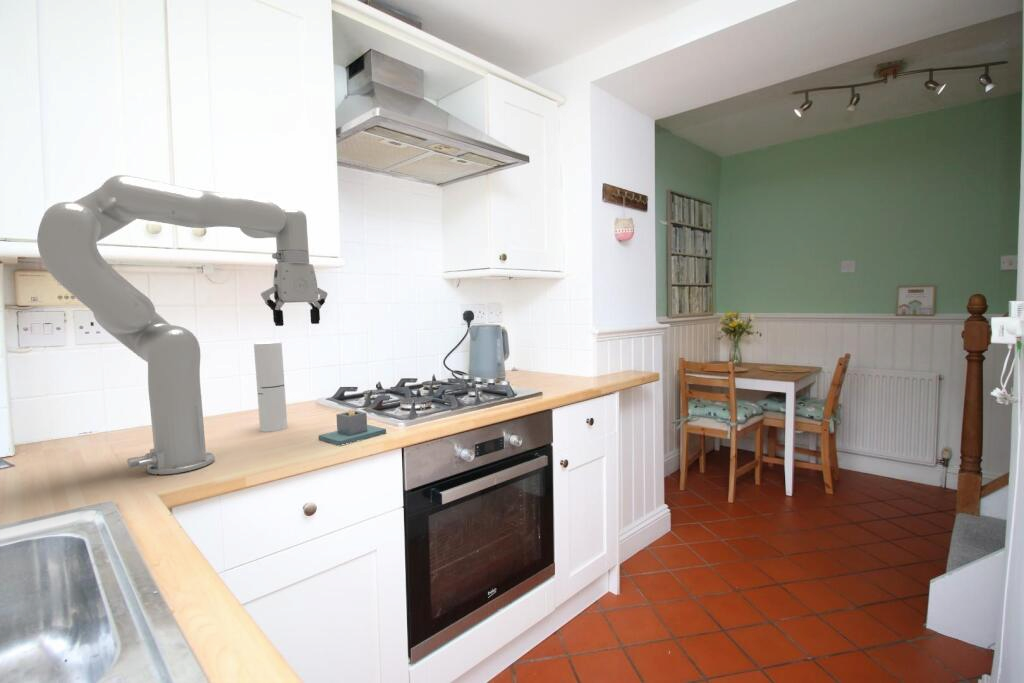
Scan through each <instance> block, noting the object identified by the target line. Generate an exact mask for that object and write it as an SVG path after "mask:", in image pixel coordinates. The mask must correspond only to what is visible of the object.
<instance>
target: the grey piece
mask: <svg viewBox="0 0 1024 683" xmlns="http://www.w3.org/2000/svg"><path fill="white" fill-rule="evenodd" d="M253 349H254V350H253V352H254V362H255V363H254V364H255V367H254V368H255V376H256V378H255V379H256V389H257V390H256V392H257V405H258V417H259V418H258V419H259V431H260V432H262V431H263V432H264V433H270V432H277V431H282V430H286V429H287V428H288V414H287V404H286V388H285V386H286V384H285V374H284V370H285V369H284V357H283V344H282V342H281V341H265V342H264V341H263V342H256V343H255V342H254V343H253Z"/></svg>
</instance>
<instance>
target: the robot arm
mask: <svg viewBox="0 0 1024 683" xmlns="http://www.w3.org/2000/svg"><path fill="white" fill-rule="evenodd" d="M136 220H143V221H148V222H157V223H162V224H167V225H168V224H169V225H174V226H178V227H185V228H192V229H193V228H195V229H207V228H215V227H216V228H217V227H219V228H220V227H221V228H222V227H225V228H236V229H237V228H238V229H240V231H241V232H242V233H243V234H244V235H246V236H247V237H249V238H253V239H270V238H274V239H275V242H276V252H275V253H272V255H271V257H272V259H273V260H276V262H277V263H275V266H274V271H273V286H272V287H270V288H268V289H266V290H264V291H262V292H261V293H260V296H261V298H262V299H263V301H264V303H265V305H267V306H268V308H270V310H271V311H272V316H273V323H274V325H275V327H283V326H284V325H285V324H284V323H285V322H284V312H283V310H282V309H281V308H282V307H283V306H284V305H285V303H288V304H289V303H307V304H308V305H309V306H310V307H311V308H310V312H309V314H310V316H309V317H310V323H311V325H319V324H320V320H321V317H320V316H321V315H320V314H321V313H320V309H321V308H322V306H323V305H324V304H325V303H326V299H327V296H328V292H327V291H326V290H323V289H322V288H321V287H318V281H317V276H316V272H315V268H314V265H313V264H310V254H309V238H308V224H307V221H308V220H307V216H306V213H305V212H304V211H302V210H299V209H292V208H291V209H288V208H286V209H283V208H281V207H280V206H279V205H277V204H275V203H274V202H271V201H269V200H264V199H260V198H255V197H252V196H251V197H250V196H246V195H241V194H235V193H227V192H219V191H218V192H217V191H211V190H201V189H199V190H198V189H193V188H189V187H188V188H187V187H185V186H184V187H182V186H179V185H174V184H170V183H164V182H160V181H156V180H151V179H148V178H147V179H146V178H141V177H137V176H131V175H127V174H126V175H124V174H123V175H121V174H120V175H119V174H118V175H113V176H112V177H110V178H108V179H107V180H106V181H105V182H104V183H103V184H102V185H101V186H100V187H98V188H97V189H95V190H94V191H91V192H90V193H88V194H87V195H85V196H83V197H81V198H79V199H77V200H75V201H61V202H57V203H55V204H52V205H51V206H50V207H48V208H47V210H46V211H45V212H44V213H43V216H42V218H41V221H40V223H39V226H38V231H37V236H36V240H37V241H36V242H37V248H38V252H39V256H40V259H41V261H42V263H43V265H44V267H45V269H46V270H47V272H49V273H50V275H51V276H52V277H53V278H54V279H55V281H56V282H57V283H58V284H59V285H61V286H62V287H63V288H64V289H66V290H67V291H68V292H69V294H71V295H72V296H73V297H75V298H76V299H77V300H78V301H79V302H81V303H82V304H83V305H84V306H85V307H86V308H88V309H89V310H90V311H91V312H93V313H92V314H93V317H94V320H95V321H96V322H97V324H98V325H99V326H100V327H101V328H103V329H104V330H105V332H107V333H108V334H110V335H111V336H112V337H114V338H115V339H116V340H117V341H119V343H120V344H122V345H123V346H125V347H126V348H128V350H130V351H132V353H134V354H135V355H137V356H138V357H139V358H140V359H141V360H143V361H145V362H146V363H147V389H148V400H149V409H150V421H151V429H152V430H151V431H152V440H153V448H150V449H149V452H148V453H145V454H144V455H141V456H135V457H132V458H131V457H130V458H128V459H127V466H128V468H134V467H139V468H141V467H146V472H147V471H148V472H147V473H148V474H150V473H151V474H152V475H157V474H159V476H160V475H172V474H179V473H185V472H190V471H194V470H198V469H200V468H201V469H202V468H204V467H206V466H208V465H210V464H212V463H213V462H214V461H215V454H213V453H212V452H209V451H207V449H206V436H205V426H204V414H203V413H204V412H203V402H202V391H201V390H202V389H201V377H200V376H201V372H200V371H201V367H200V366H201V345H200V342H199V340H198V338H197V337H196V335H195V334H194V333H193V332H191V331H190V330H189V329H187V328H185V327H182V326H180V325H174V324H173V325H171V323H170V322H168V321H166V320H165V319H164V318H163V317H162V316H161V315H160V314H159V313H157V312H156V308H155V305H154V303H153V302H152V300H151V299H150V298H149V297H148V296H147V295H146V294H144V293H143V292H141V291H140V290H139V288H137V287H135V285H133V284H131V282H129V281H128V280H127V279H125V277H124V276H122V274H120V273H118V272H117V270H116V269H114V267H112V266H111V265H110V263H108V262H107V261H106V260H105V259H104V257H103V256H102V255H101V253H100V252H99V248H98V246H97V243H98V242H100V241H101V240H103V239H105V238H107V237H108V236H110V235H113V234H114V233H115V232H117V231H119V230H122V228H124V227H126V226H128V225H129V224H132V222H134V221H136ZM271 295H273V298H274V300H273V299H271Z"/></svg>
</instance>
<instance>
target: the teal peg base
mask: <svg viewBox="0 0 1024 683" xmlns="http://www.w3.org/2000/svg"><path fill="white" fill-rule="evenodd" d="M355 411H356V410H355V409H354V408H353V409H351V408H350V409H348V410H347V412H348V413H349V416H351V415H355ZM381 434H382V435H385V434H387V428H383V427H378V426H374V425H371V424H367V432H363V433H359V434H355V435H351V436H347V435H343V434H339V433H337V430H334V431H330V432H328V433H321V434H319V435H318V440H319V441H321V442H324V441H325V443H328V442H329V444H331V443H332V445H335V444H336V445H335V446H338V445H342V444H345V445H347V444H346V443H349V444H351V443H350V442H353V441H356V442H358V441H357V440H360V441H362V440H361V439H364V440H367V439H370V437H371V438H374V437H377V436H378V437H379V436H382V435H381ZM373 436H374V437H373ZM366 438H367V439H366ZM353 443H354V442H353ZM342 446H343V445H342Z"/></svg>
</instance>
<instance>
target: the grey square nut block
mask: <svg viewBox="0 0 1024 683" xmlns="http://www.w3.org/2000/svg"><path fill="white" fill-rule="evenodd" d="M335 417H336V431H337V433H339V434H343V435H347V436H351V435H355V434H359V433H363V432H367V425H368V420H367V419H368V418H367V412H365V411H360V410H359V411H358V410H355V415H351V416H349V413H348V411H347V412H343V413H337V414H336V415H335Z"/></svg>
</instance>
